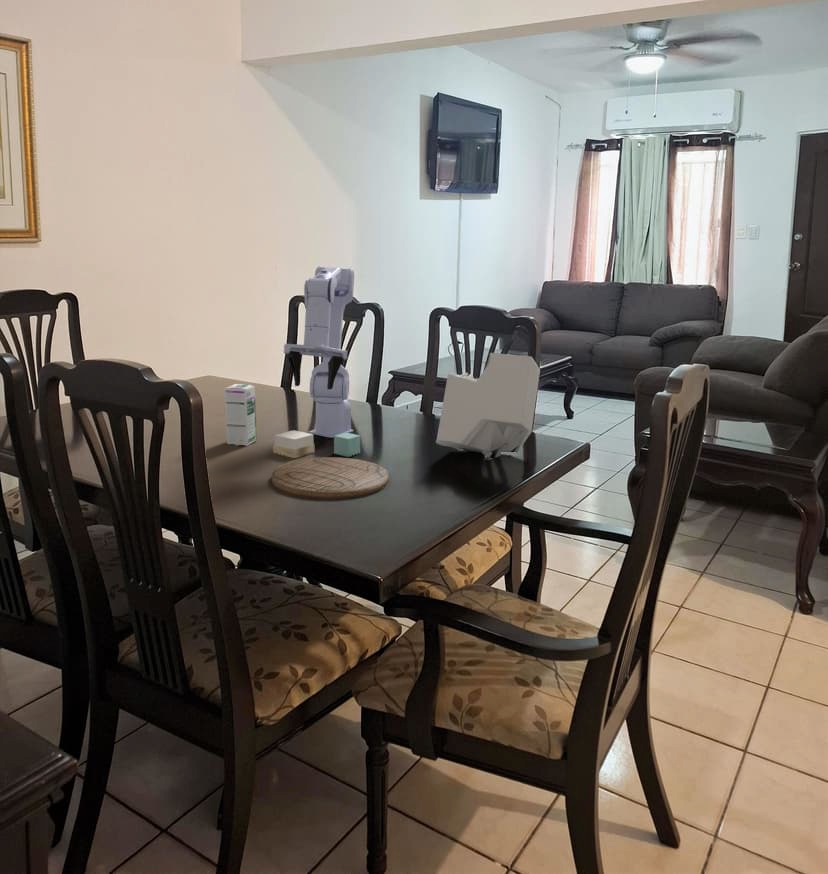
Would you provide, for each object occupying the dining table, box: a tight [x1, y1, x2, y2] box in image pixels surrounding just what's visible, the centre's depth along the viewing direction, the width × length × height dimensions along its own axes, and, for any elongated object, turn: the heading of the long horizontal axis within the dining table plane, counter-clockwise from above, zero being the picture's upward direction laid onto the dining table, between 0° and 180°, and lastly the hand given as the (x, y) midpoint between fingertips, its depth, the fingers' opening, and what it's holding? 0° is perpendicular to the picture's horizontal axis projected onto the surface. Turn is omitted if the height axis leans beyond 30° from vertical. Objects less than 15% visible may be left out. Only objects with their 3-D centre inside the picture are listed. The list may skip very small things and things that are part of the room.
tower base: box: [272, 443, 316, 459], centre depth 189 cm, size 7×7×2 cm
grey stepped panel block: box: [435, 352, 541, 459], centre depth 188 cm, size 20×16×25 cm
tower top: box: [274, 429, 314, 450], centre depth 188 cm, size 6×6×2 cm
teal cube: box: [333, 432, 361, 458], centre depth 190 cm, size 4×4×4 cm
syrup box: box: [224, 383, 258, 447], centre depth 195 cm, size 6×6×14 cm
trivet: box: [271, 456, 389, 500], centre depth 169 cm, size 25×25×2 cm
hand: (313, 387), depth 180 cm, fingers open, 7 cm apart
